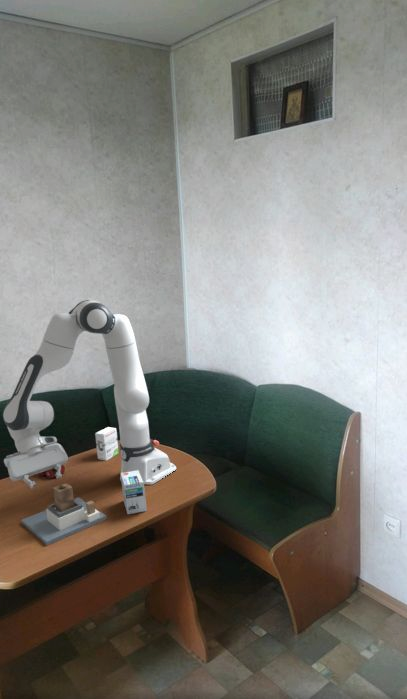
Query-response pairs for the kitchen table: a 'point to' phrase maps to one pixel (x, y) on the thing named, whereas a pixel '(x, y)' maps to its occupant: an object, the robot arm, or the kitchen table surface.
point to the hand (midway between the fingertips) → (46, 482)
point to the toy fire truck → (52, 472)
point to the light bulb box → (133, 492)
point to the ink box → (106, 443)
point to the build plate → (53, 531)
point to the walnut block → (63, 497)
